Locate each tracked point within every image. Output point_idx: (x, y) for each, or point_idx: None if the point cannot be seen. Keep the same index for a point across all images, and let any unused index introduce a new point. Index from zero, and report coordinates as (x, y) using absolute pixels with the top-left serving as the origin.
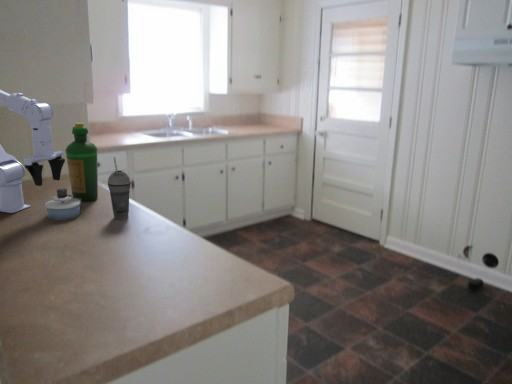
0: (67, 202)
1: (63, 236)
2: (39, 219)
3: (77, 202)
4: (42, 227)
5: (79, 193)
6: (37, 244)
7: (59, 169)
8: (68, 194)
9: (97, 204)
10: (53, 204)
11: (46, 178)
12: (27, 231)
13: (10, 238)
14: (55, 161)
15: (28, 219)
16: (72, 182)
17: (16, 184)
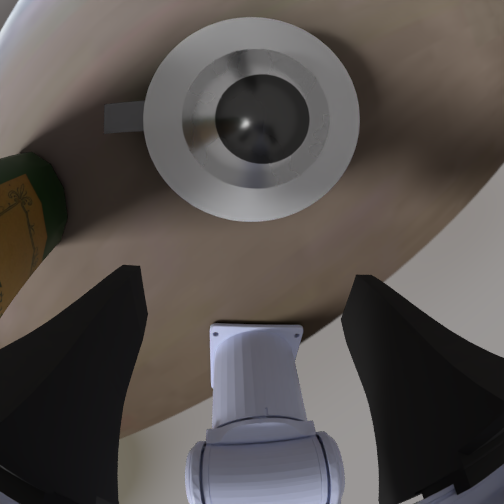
0: None
1: (447, 12)
2: (339, 185)
3: (217, 34)
4: (413, 114)
5: (41, 200)
6: (500, 67)
7: (76, 333)
8: (185, 115)
9: (55, 97)
10: None
11: None
12: (450, 146)
13: (489, 162)
14: (67, 469)
15: (348, 228)
16: (19, 264)
17: (273, 418)
